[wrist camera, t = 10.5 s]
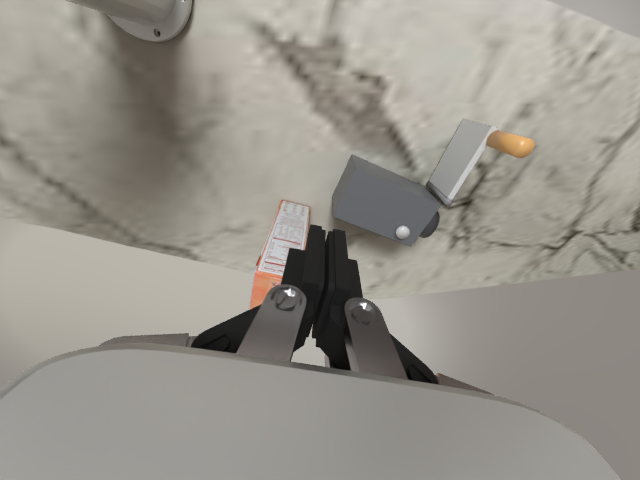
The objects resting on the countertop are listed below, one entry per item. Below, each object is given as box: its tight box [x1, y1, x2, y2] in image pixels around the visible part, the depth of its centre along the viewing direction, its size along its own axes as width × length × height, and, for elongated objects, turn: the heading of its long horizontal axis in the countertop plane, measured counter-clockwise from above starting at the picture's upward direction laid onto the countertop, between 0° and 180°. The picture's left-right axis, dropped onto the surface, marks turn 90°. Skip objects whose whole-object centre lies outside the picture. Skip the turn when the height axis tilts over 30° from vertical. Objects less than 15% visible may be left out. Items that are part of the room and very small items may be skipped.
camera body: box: [332, 155, 441, 246], centre depth 40 cm, size 17×8×9 cm, turn 68°
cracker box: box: [249, 200, 310, 310], centre depth 40 cm, size 14×6×21 cm, turn 165°
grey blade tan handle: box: [427, 119, 534, 206], centre depth 34 cm, size 11×2×13 cm, turn 163°
